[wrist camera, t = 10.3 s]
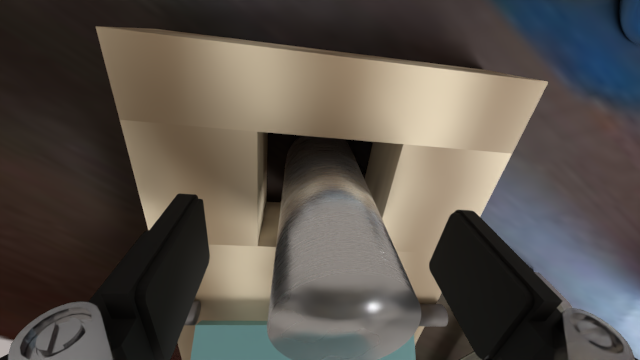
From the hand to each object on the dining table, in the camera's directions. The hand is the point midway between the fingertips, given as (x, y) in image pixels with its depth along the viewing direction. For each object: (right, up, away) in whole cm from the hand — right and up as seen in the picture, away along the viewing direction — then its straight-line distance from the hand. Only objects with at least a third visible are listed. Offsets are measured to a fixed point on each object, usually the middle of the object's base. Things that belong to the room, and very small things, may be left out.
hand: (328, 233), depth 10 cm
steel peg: (0, +3, +6) cm, 6 cm away
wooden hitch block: (-1, -1, +8) cm, 8 cm away
